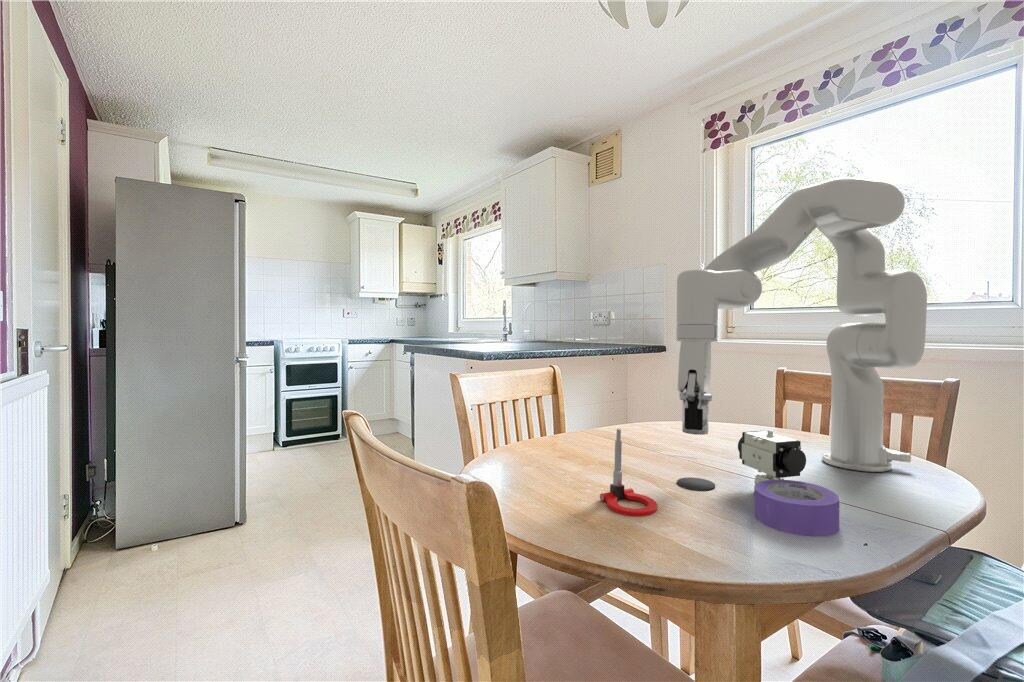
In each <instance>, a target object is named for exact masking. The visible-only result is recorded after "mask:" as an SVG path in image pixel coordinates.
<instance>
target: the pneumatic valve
mask: <svg viewBox="0 0 1024 682" xmlns="http://www.w3.org/2000/svg"><path fill="white" fill-rule="evenodd" d="M737 450H738V452H739V455H738V456H739V457H738V458H739V459H740V460H741V464H742V465H743V466H747V467H749V468H752V469H754V470H757V472H758V473H764V474H756V475H755V479H754V485H755V484H756V483H758V482H761V481H765V480H785V479H784V478H793V477H800V476H801V472H803V470H804V469H805V467H806V465H807V457H806V454H805V452H804V451H803V450H802V445H801V440H797V439H793V438H790V437H787V436H782V435H779V434H775V433H774V430H771V429H768V430H767V431H765V430H754V431H752V430H751V431H742V435H741V437H740V438H739V440H738V443H737Z"/></svg>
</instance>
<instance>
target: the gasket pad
mask: <svg viewBox="0 0 1024 682" xmlns="http://www.w3.org/2000/svg"><path fill="white" fill-rule="evenodd" d="M676 483H677V485H678V486H679V487H681V488H684V489H687V490H692V491H700V492H701V491H702V492H703V491H705V492H707V491H711V490H715V488H716V483H715V482H712V481H710V480H708V479H705V478H700V477H681V478H679V479H677V481H676Z"/></svg>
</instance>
